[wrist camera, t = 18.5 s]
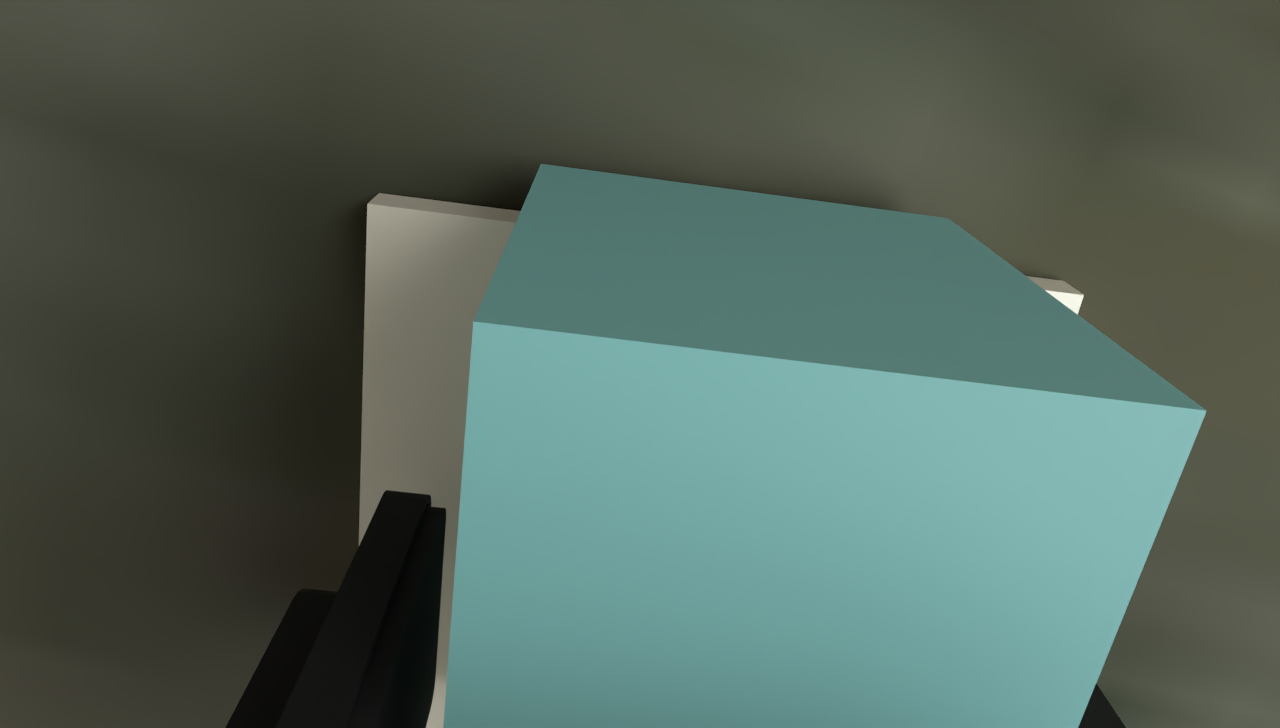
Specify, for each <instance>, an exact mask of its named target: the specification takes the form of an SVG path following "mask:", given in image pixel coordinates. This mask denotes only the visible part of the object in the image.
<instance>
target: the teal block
mask: <svg viewBox="0 0 1280 728" xmlns="http://www.w3.org/2000/svg"><path fill="white" fill-rule="evenodd" d="M1205 414H1206V410H1205V409H1204V408H1202V407H1201V406H1200V405H1198V404H1197V403H1196V402H1194V401H1193V400H1191V399H1190V398H1189V397H1187V396H1186V395H1185V394H1183V393H1182V392H1181V391H1179V390H1178V389H1177V388H1175V387H1174V386H1173V385H1171V384H1170V383H1169V382H1167V381H1166V380H1165V379H1163V378H1162V377H1161V376H1159V375H1158V374H1157V373H1155V372H1154V371H1153V370H1151V369H1150V368H1149V367H1147V366H1146V365H1144V364H1143V363H1142V362H1140V361H1139V360H1138V359H1136V358H1135V357H1134V356H1132V355H1131V354H1130V353H1128V352H1127V351H1126V350H1124V349H1123V348H1122V347H1120V346H1119V345H1118V344H1116V343H1115V342H1114V341H1112V340H1111V339H1110V338H1108V337H1107V336H1106V335H1104V334H1103V333H1102V332H1100V331H1099V330H1098V329H1096V328H1095V327H1093V326H1092V325H1091V324H1089V323H1088V322H1087V321H1085V320H1084V319H1083V318H1081V317H1080V316H1079V315H1077V314H1076V313H1075V312H1073V311H1072V310H1071V309H1069V308H1068V307H1067V306H1065V305H1064V304H1063V303H1061V302H1060V301H1059V300H1057V299H1056V298H1055V297H1053V296H1052V295H1051V294H1049V293H1048V292H1046V291H1045V290H1044V289H1042V288H1041V287H1040V286H1038V285H1037V284H1036V283H1034V282H1033V281H1032V280H1030V279H1029V278H1028V277H1026V276H1025V275H1024V274H1022V273H1021V272H1020V271H1018V270H1017V269H1016V268H1014V267H1013V266H1012V265H1010V264H1009V263H1008V262H1006V261H1005V260H1004V259H1002V258H1001V257H999V256H998V255H997V254H995V253H994V252H993V251H991V250H990V249H989V248H987V247H986V246H985V245H983V244H982V243H981V242H979V241H978V240H977V239H975V238H974V237H973V236H971V235H970V234H969V233H967V232H966V231H965V230H963V229H962V228H961V227H959V226H958V225H957V224H955V223H954V222H952V221H951V220H950V219H948V218H942V217H935V216H927V215H920V214H913V213H905V212H898V211H890V210H883V209H875V208H868V207H860V206H853V205H845V204H838V203H830V202H823V201H816V200H808V199H801V198H793V197H786V196H778V195H771V194H763V193H756V192H748V191H741V190H733V189H726V188H719V187H711V186H704V185H696V184H689V183H681V182H674V181H666V180H659V179H651V178H644V177H636V176H629V175H622V174H614V173H607V172H599V171H592V170H584V169H577V168H569V167H562V166H554V165H547V164H541V165H540V167H539V169H538V172H537V174H536V176H535V179H534V181H533V183H532V186H531V188H530V190H529V193H528V195H527V197H526V200H525V202H524V204H523V207H522V209H521V211H520V214H519V216H518V218H517V221H516V223H515V225H514V228H513V230H512V232H511V235H510V237H509V239H508V242H507V244H506V246H505V249H504V251H503V253H502V256H501V258H500V260H499V263H498V265H497V267H496V270H495V272H494V274H493V277H492V279H491V281H490V284H489V286H488V288H487V291H486V293H485V295H484V298H483V300H482V302H481V305H480V307H479V309H478V312H477V314H476V316H475V319H474V321H473V332H472V346H471V359H470V373H469V386H468V400H467V413H466V427H465V440H464V454H463V467H462V481H461V494H460V508H459V521H458V535H457V548H456V562H455V575H454V589H453V602H452V616H451V629H450V643H449V656H448V669H447V683H446V696H445V710H444V723H443V728H1078V727H1079V724H1080V722H1081V719H1082V717H1083V714H1084V712H1085V709H1086V707H1087V705H1088V702H1089V700H1090V697H1091V695H1092V692H1093V690H1094V687H1095V685H1096V682H1097V680H1098V677H1099V675H1100V672H1101V670H1102V668H1103V665H1104V663H1105V660H1106V658H1107V655H1108V653H1109V650H1110V648H1111V645H1112V643H1113V640H1114V638H1115V636H1116V633H1117V631H1118V628H1119V626H1120V623H1121V621H1122V618H1123V616H1124V613H1125V611H1126V608H1127V606H1128V603H1129V601H1130V599H1131V596H1132V594H1133V591H1134V589H1135V586H1136V584H1137V581H1138V579H1139V576H1140V574H1141V571H1142V569H1143V566H1144V564H1145V562H1146V559H1147V557H1148V554H1149V552H1150V549H1151V547H1152V544H1153V542H1154V539H1155V537H1156V534H1157V532H1158V530H1159V527H1160V525H1161V522H1162V520H1163V517H1164V515H1165V512H1166V510H1167V507H1168V505H1169V502H1170V500H1171V497H1172V495H1173V493H1174V490H1175V488H1176V485H1177V483H1178V480H1179V478H1180V475H1181V473H1182V470H1183V468H1184V465H1185V463H1186V460H1187V458H1188V456H1189V453H1190V451H1191V448H1192V446H1193V443H1194V441H1195V438H1196V436H1197V433H1198V431H1199V428H1200V426H1201V424H1202V421H1203V419H1204V416H1205Z"/></svg>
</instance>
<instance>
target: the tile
mask: <svg viewBox="0 0 1280 728" xmlns="http://www.w3.org/2000/svg"><path fill="white" fill-rule="evenodd" d="M519 214H520V211H515V210H507V209H500V208H492V207H484V206H476V205H469V204H461V203H453V202H445V201H437V200H430V199H422V198H414V197H406V196H399V195H391V194H383V193H379V194H378V195H376V196H375V197H374V198H373V199H372V200H371V201H370V202H369V203H368V204H367V235H366V275H365V314H364V354H363V394H362V434H361V473H360V513H359V545H360V543H361V541H362V539H363V536H364V534H365V532H366V530H367V528H368V526H369V523H370V521H371V519H372V517H373V515H374V513H375V510H376V508H377V506H378V504H379V502H380V499H381V497H382V495H383V493H384V492H385V491H386V490H390V491H399V492H409V493H418V494H427V495H430V496H431V507H440V508H445V509H446V527H445V542H444V557H443V573H442V588H441V603H440V618H439V634H438V649H437V664H436V678H435V687H434V694H433V700H432V705H431V709H430V713H429V717H428V721H427V725H426V728H443V723H444V710H445V696H446V683H447V669H448V656H449V643H450V629H451V616H452V602H453V589H454V575H455V562H456V548H457V535H458V521H459V508H460V494H461V481H462V467H463V454H464V440H465V427H466V413H467V400H468V386H469V373H470V359H471V346H472V332H473V321H474V319H475V316H476V314H477V312H478V309H479V307H480V305H481V302H482V300H483V298H484V295H485V293H486V291H487V288H488V286H489V284H490V281H491V279H492V277H493V274H494V272H495V270H496V267H497V265H498V263H499V260H500V258H501V256H502V253H503V251H504V249H505V246H506V244H507V242H508V239H509V237H510V235H511V232H512V230H513V228H514V225H515V223H516V221H517V218H518V216H519ZM1026 277H1028V278H1029V279H1030V280H1032V281H1033V282H1034V283H1036V284H1037V285H1038V286H1040V287H1041V288H1042V289H1044V290H1045V291H1046V292H1048V293H1049V294H1051V295H1052V296H1053V297H1055V298H1056V299H1057V300H1059V301H1060V302H1061V303H1063V304H1064V305H1065V306H1067V307H1068V308H1069V309H1071V310H1072V311H1073V312H1075V313H1076V314H1078V311H1079V308H1080V305H1081V302H1082V299H1083V296H1084V295H1083V294H1081V293H1080V292H1079V291H1077V290H1076V289H1074V288H1073V287H1071V286H1070V285H1068V284H1067V283H1066V282H1064V281H1060V280H1052V279H1045V278H1037V277H1029V276H1026Z"/></svg>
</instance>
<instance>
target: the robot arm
mask: <svg viewBox="0 0 1280 728" xmlns="http://www.w3.org/2000/svg"><path fill="white" fill-rule="evenodd" d="M445 527H446V509H445V508H440V507H431V496H430V495H427V494H418V493H409V492H399V491H390V490H386V491H385V492H384V493H383V495H382V497H381V499H380V502H379V504H378V506H377V508H376V510H375V513H374V515H373V517H372V519H371V521H370V523H369V526H368V528H367V530H366V532H365V534H364V536H363V539H362V541H361V543H360V545H359V547H358V550H357V552H356V554H355V556H354V558H353V560H352V563H351V565H350V567H349V569H348V571H347V574H346V576H345V578H344V580H343V582H342V584H341V587H340V589H339V591H338V592H333V591H322V590H312V589H302V590H300V591H298V593H297V594H296V596H295V597H294V599H293V600H292V602H291V604H290V606H289V608H288V610H287V612H286V614H285V616H284V617H283V619H282V621H281V623H280V625H279V627H278V629H277V631H276V633H275V635H274V636H273V638H272V640H271V642H270V644H269V646H268V648H267V650H266V652H265V654H264V655H263V657H262V659H261V661H260V663H259V665H258V667H257V669H256V671H255V673H254V674H253V676H252V678H251V680H250V682H249V684H248V686H247V688H246V690H245V692H244V694H243V695H242V697H241V699H240V701H239V703H238V705H237V707H236V709H235V711H234V713H233V714H232V716H231V718H230V720H229V722H228V724H227V726H226V728H426V725H427V721H428V717H429V713H430V709H431V705H432V700H433V694H434V687H435V678H436V664H437V649H438V634H439V618H440V603H441V588H442V573H443V557H444V542H445ZM1078 728H1126V727H1125V726H1124V724H1123V723H1122V721H1121V720H1120V718H1119V717H1118V715H1117V714H1116V712H1115V711H1114V709H1113V708H1112V706H1111V705H1110V703H1109V702H1108V700H1107V699H1106V697H1105V696H1104V694H1103V693H1102V691H1101V690H1100V688H1099V687H1098V685H1097V684H1096V685H1095V687H1094V690H1093V692H1092V695H1091V697H1090V700H1089V702H1088V705H1087V707H1086V709H1085V712H1084V714H1083V717H1082V719H1081V722H1080V724H1079V727H1078Z"/></svg>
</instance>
